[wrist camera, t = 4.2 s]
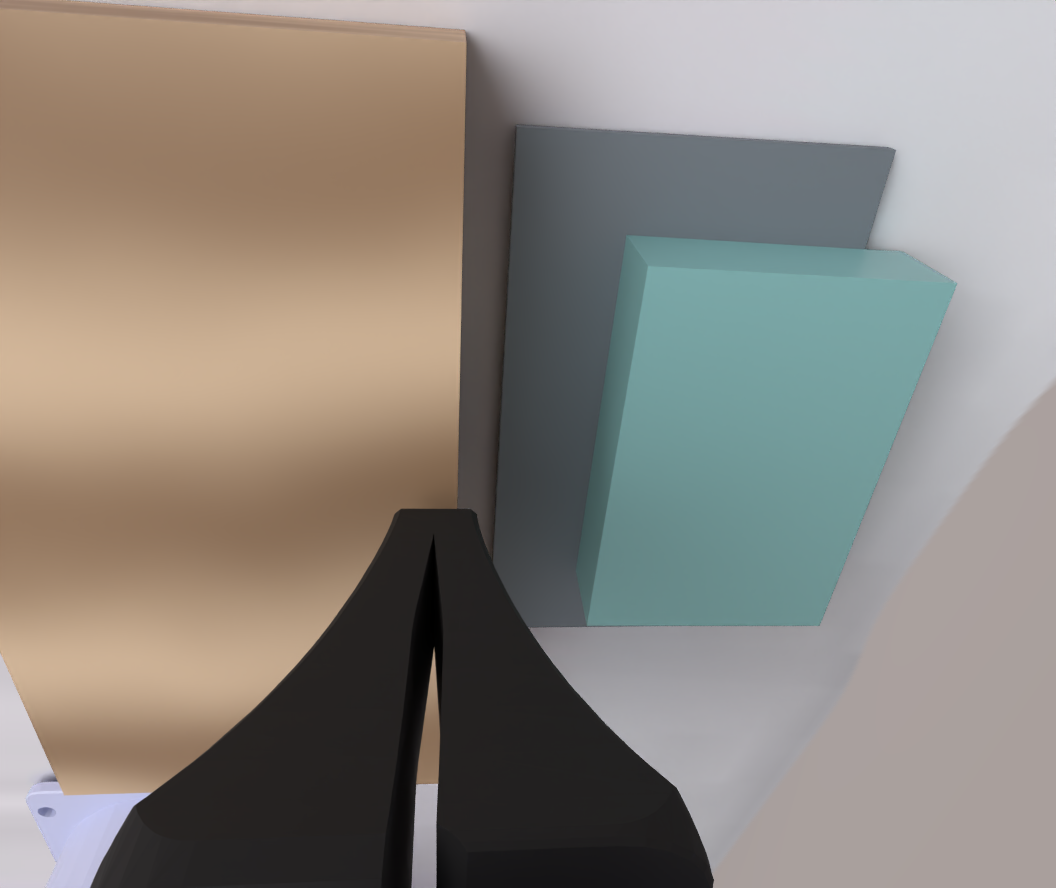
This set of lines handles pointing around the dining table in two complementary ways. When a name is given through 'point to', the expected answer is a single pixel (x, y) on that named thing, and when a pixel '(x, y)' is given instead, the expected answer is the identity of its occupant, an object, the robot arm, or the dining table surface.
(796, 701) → the dining table surface
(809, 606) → the teal rectangular block
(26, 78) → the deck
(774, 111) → the dining table surface
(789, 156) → the mat
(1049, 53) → the dining table surface
